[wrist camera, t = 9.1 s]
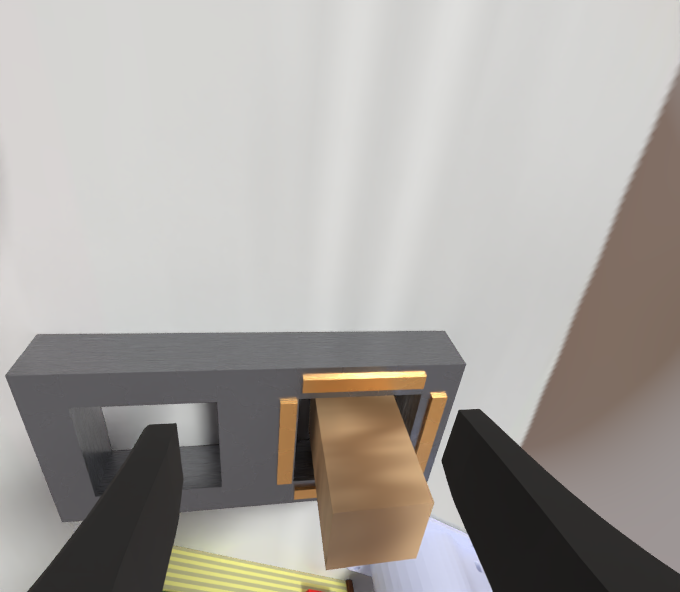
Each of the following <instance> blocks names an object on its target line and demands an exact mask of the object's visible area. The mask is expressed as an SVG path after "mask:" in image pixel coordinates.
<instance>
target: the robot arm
mask: <svg viewBox="0 0 680 592" xmlns="http://www.w3.org/2000/svg"><path fill="white" fill-rule="evenodd" d="M441 461H442V464H443V468H444V471H445V475H446V478H447V482H448V485H449V488H450V491H451V495H452V498H453V500H454V503H455V505H456V508H457V510H458V512H459V515H460V517H461V519H462V522H463V524H464V526H465V529H466V531H467V533H468V534H466V533H464V532H462V531H460V530H457V529H455V528H453V527H451V526H449V525H446V524H444V523H442V522H440V521H438V520H435V519H433V518H431V517H429V520H428V523H427V526H426V530H425V533H424V536H423V539H422V542H421V545H420V548H419V551H418V554H417V557H416V558H415V559H408V560H400V561H392V562H384V563H377V564H369V565H361V566H354V567H346V568H347V569H349V570H351V571H355V572H358V573H361V574H364V575H367V576H370V577H372V580H373V585H374V590H375V592H680V574H679V573H677V572H676V571H674V570H673V569H671V568H670V567H668V566H667V565H665V564H664V563H662V562H661V561H660V560H658V559H657V558H655V557H654V556H652V555H651V554H650V553H648V552H647V551H645V550H644V549H643V548H641V547H640V546H639V545H637V544H636V543H634V542H633V541H632V540H630V539H629V538H628V537H626V536H625V535H624V534H622V533H621V532H620V531H618V530H617V529H616V528H614V527H613V526H612V525H610V524H609V523H608V522H606V521H605V520H604V519H603V518H601V517H600V516H599V515H598V514H596V513H595V512H594V511H593V510H591V509H590V508H589V507H588V506H587V505H586V504H584V503H583V502H582V501H581V500H580V499H578V498H577V497H576V496H575V495H573V494H572V493H571V492H570V491H569V490H567V489H566V488H565V487H564V486H563V485H562V484H561V483H560V482H558V481H557V480H556V479H555V478H554V477H553V476H552V475H550V474H549V473H548V472H547V471H546V470H544V468H543V467H542V466H540V465H539V464H538V463H537V462H536V461H535V460H534V459H533V458H532V457H531V456H529V455H528V454H527V453H526V452H525V451H524V450H523V449H522V448H521V447H520V446H519V445H518V444H517V443H516V442H515V441H513V440H512V439H511V438H510V437H509V436H508V435H507V434H506V433H505V432H504V431H503V430H502V429H501V428H500V427H499V426H498V425H497V424H495V423H494V422H493V421H492V420H491V419H490V418H489V417H488V416H487V415H486V414H485V413H483V412H482V411H481V410H480V409H469V410H459V411H458V414H457V417H456V420H455V422H454V425H453V428H452V431H451V434H450V437H449V440H448V443H447V446H446V449H445V452H444V455H443V457H442V460H441ZM183 480H184V478H183V470H182V463H181V455H180V447H179V440H178V432H177V424H176V423H174V424H153V425H148V426H147V427H146V428H144V430H143V432H142V434H141V435H140V437H139V439H138V440H137V442H136V444H135V445H134V447H133V449H132V450H131V452H130V454H129V455H128V457H127V458H126V460H125V461H124V463H123V465H122V466H121V468H120V469H119V471H118V472H117V474H116V475H115V477H114V478H113V480H112V481H111V483H110V484H109V485H108V487H107V488H106V490H105V491H104V493H103V494H102V495H101V497H100V498H99V500H98V501H97V503H96V504H95V505H94V507H93V508H92V510H91V511H90V513H89V514H88V515H87V517H86V518H85V519H84V521H83V522H82V523H81V525H80V526H79V527H78V529H77V530H76V531H75V533H74V534H73V535H72V536H71V538H70V539H69V540H68V542H67V543H66V544H65V546H64V547H63V548H62V549H61V551H60V552H59V553H58V555H57V556H56V557H55V559H54V560H53V561H52V562H51V564H50V565H49V566H48V567H47V569H46V570H45V571H44V572H43V573H42V575H41V576H40V577H39V578H38V580H37V581H36V582H35V583H34V584H33V586H32V587H31V588H30V589H29V590H28V591H27V592H162V591H163V586H164V582H165V578H166V573H167V569H168V565H169V561H170V556H171V552H172V548H173V543H174V539H175V535H176V530H177V526H178V520H179V512H180V505H181V497H182V488H183Z"/></svg>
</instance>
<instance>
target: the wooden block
mask: <svg viewBox="0 0 680 592" xmlns="http://www.w3.org/2000/svg"><path fill="white" fill-rule="evenodd" d="M309 437H310V445H311V453H312V461H313V469H314V477H315V486H316V494H317V502H318V510H319V518H320V526H321V534H322V543H323V551H324V559H325V567H326V570H330V569H338V568H346V567H354V566H361V565H369V564H377V563H384V562H392V561H400V560H408V559H415V558H416V557H417V554H418V551H419V548H420V545H421V542H422V539H423V536H424V533H425V530H426V526H427V523H428V520H429V517H430V514H431V511H432V508H433V505H434V501H433V498H432V496H431V493H430V490H429V488H428V485H427V482H426V480H425V477H424V474H423V472H422V469H421V466H420V464H419V461H418V459H417V456H416V453H415V451H414V448H413V445H412V443H411V440H410V437H409V435H408V432H407V429H406V427H405V424H404V421H403V419H402V416H401V414H400V411H399V408H398V406H397V403H396V400H395V398H394V395H389V396H363V397H337V398H311V399H310V414H309Z"/></svg>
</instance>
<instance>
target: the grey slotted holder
mask: <svg viewBox="0 0 680 592" xmlns="http://www.w3.org/2000/svg"><path fill="white" fill-rule="evenodd" d="M465 366H466V363H465V362H464V360H463V359H462V357H461V355H460V354H459V352H458V351H457V349H456V348H455V346H454V345H453V343H452V341H451V340H450V338H449V337H448V335H447V334H446V332H445V331H398V332H277V333H157V334H37V335H36V336H35V338H34V339H33V340H32V342H31V343H30V344H29V345H28V347H27V348H26V349H25V351H24V352H23V353H22V355H21V356H20V357H19V358H18V360H17V361H16V362H15V364H14V365H13V366H12V367H11V369H10V370H9V371H8V373H7V374H6V375H5V376H6V379H7V382H8V384H9V387H10V389H11V392H12V394H13V397H14V399H15V402H16V405H17V407H18V410H19V412H20V415H21V417H22V420H23V423H24V425H25V428H26V430H27V433H28V435H29V438H30V441H31V443H32V446H33V448H34V451H35V453H36V456H37V458H38V461H39V464H40V466H41V469H42V471H43V474H44V476H45V479H46V482H47V484H48V487H49V489H50V492H51V494H52V497H53V500H54V502H55V505H56V507H57V510H58V512H59V515H60V517H61V520H62V522H71V521H83V520H84V519H85V518H86V517H87V515H88V514H89V513H90V511H91V510H92V508H93V507H94V505H95V504H96V503H97V501H98V500H99V498H100V497H101V495H102V494H103V493H104V491H105V490H106V488H107V487H108V485H109V484H110V483H111V481H112V480H113V478H114V477H115V475H116V474H117V472H118V471H119V469H120V468H121V466H122V465H123V463H124V461H125V460H126V458H127V457H128V455H129V454H130V452H131V450H121V451H112V449H111V445H110V441H109V437H108V433H107V429H106V425H105V421H104V417H103V413H102V409H101V407H106V406H132V405H157V404H183V403H209V402H217V410H218V427H219V444H220V445H208V446H191V447H180V455H181V463H182V470H183V478H184V480H183V488H182V497H181V505H180V512H187V511H199V510H210V509H222V508H234V507H245V506H257V505H268V504H280V503H292V502H303V501H315V500H317V494H316V486H315V477H314V469H313V461H312V453H311V445H310V440H296V438H297V425H298V412H299V399H311V398H337V397H363V396H389V395H397V398H396V403H397V406H398V408H399V411H400V414H401V416H402V419H403V421H404V424H405V427H406V429H407V432H408V435H409V437H410V440H411V443H412V445H413V448H414V451H415V453H416V456H417V459H418V461H419V464H420V466H421V469H422V472H423V474H424V477H425V480H426V482H427V481H428V478H429V475H430V472H431V469H432V466H433V463H434V460H435V457H436V454H437V451H438V448H439V445H440V442H441V439H442V436H443V433H444V430H445V427H446V424H447V421H448V418H449V414H450V411H451V408H452V405H453V402H454V399H455V396H456V393H457V390H458V387H459V384H460V381H461V378H462V375H463V372H464V369H465Z"/></svg>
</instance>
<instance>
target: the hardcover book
mask: <svg viewBox="0 0 680 592" xmlns="http://www.w3.org/2000/svg"><path fill="white" fill-rule="evenodd" d="M162 592H354V589H353V583H352V580H346V581H343V580H338V579H334V578H329V577H324V576H319V575H314V574H309V573H305V572H300V571H295V570H290V569H285V568H280V567H275V566H271V565H266V564H261V563H256V562H251V561H246V560H241V559H237V558H232V557H227V556H222V555H217V554H212V553H208V552H203V551H198V550H193V549H188V548H183V547H178V546H174V545H173V548H172V552H171V556H170V561H169V565H168V569H167V573H166V578H165V582H164V586H163V591H162Z"/></svg>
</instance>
